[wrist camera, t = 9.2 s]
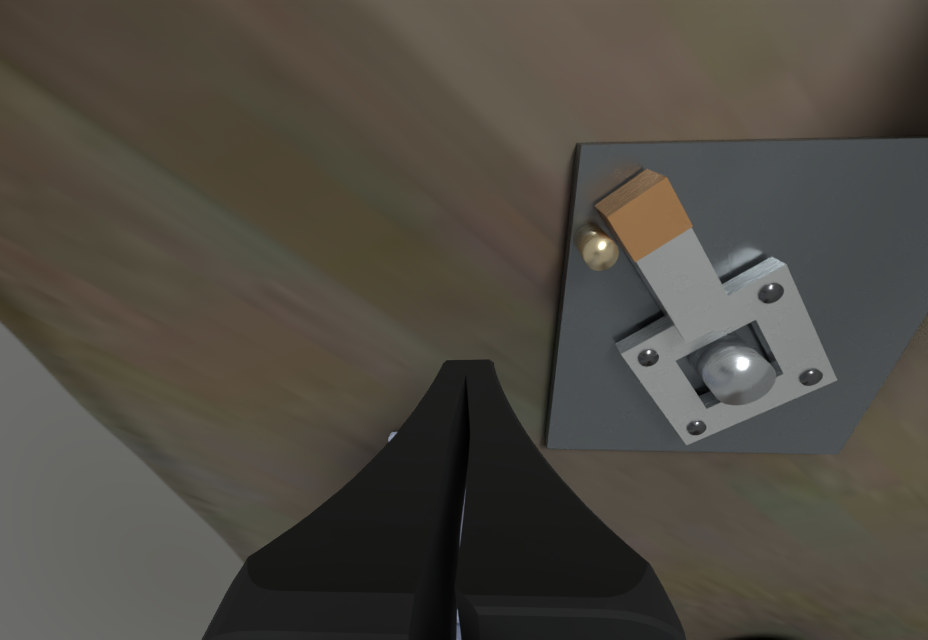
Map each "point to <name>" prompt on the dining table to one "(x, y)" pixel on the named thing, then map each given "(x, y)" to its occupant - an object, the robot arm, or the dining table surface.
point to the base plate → (731, 253)
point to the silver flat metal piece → (705, 311)
